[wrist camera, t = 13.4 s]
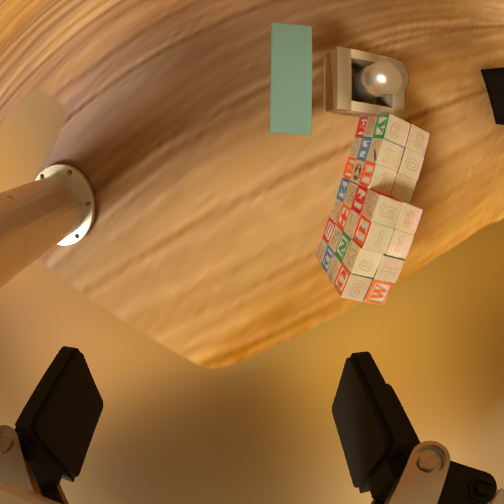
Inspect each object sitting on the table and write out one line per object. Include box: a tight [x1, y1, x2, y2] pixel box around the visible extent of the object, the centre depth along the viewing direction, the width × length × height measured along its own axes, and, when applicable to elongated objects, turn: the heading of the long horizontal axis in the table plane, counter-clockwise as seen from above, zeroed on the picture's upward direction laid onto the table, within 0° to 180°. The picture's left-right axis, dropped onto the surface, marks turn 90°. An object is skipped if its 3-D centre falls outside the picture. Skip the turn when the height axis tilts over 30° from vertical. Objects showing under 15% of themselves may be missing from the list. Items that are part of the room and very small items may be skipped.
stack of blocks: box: [316, 114, 430, 305], centre depth 34 cm, size 21×6×12 cm, turn 165°
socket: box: [323, 46, 404, 120], centre depth 31 cm, size 9×8×6 cm
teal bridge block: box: [269, 23, 312, 135], centre depth 30 cm, size 4×12×10 cm, turn 179°
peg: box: [351, 57, 409, 102], centre depth 29 cm, size 4×4×10 cm
